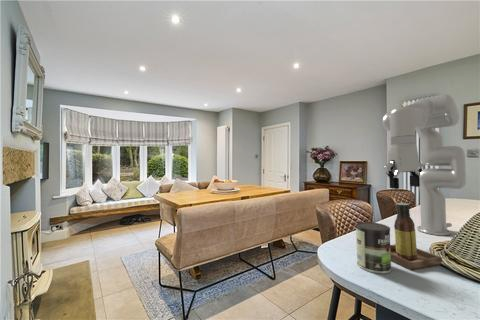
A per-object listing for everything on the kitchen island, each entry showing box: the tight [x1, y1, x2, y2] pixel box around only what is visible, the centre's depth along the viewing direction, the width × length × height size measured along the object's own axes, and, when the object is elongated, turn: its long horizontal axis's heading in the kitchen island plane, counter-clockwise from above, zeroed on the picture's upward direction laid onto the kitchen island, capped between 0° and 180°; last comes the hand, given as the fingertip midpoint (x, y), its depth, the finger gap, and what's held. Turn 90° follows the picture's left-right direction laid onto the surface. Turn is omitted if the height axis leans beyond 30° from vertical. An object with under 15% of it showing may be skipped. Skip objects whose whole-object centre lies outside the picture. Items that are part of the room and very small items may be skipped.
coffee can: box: [355, 221, 392, 275], centre depth 76 cm, size 10×10×14 cm
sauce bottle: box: [393, 202, 418, 260], centre depth 81 cm, size 6×6×20 cm
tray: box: [390, 243, 443, 271], centre depth 81 cm, size 14×14×2 cm
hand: (404, 187), depth 81 cm, fingers open, 9 cm apart
